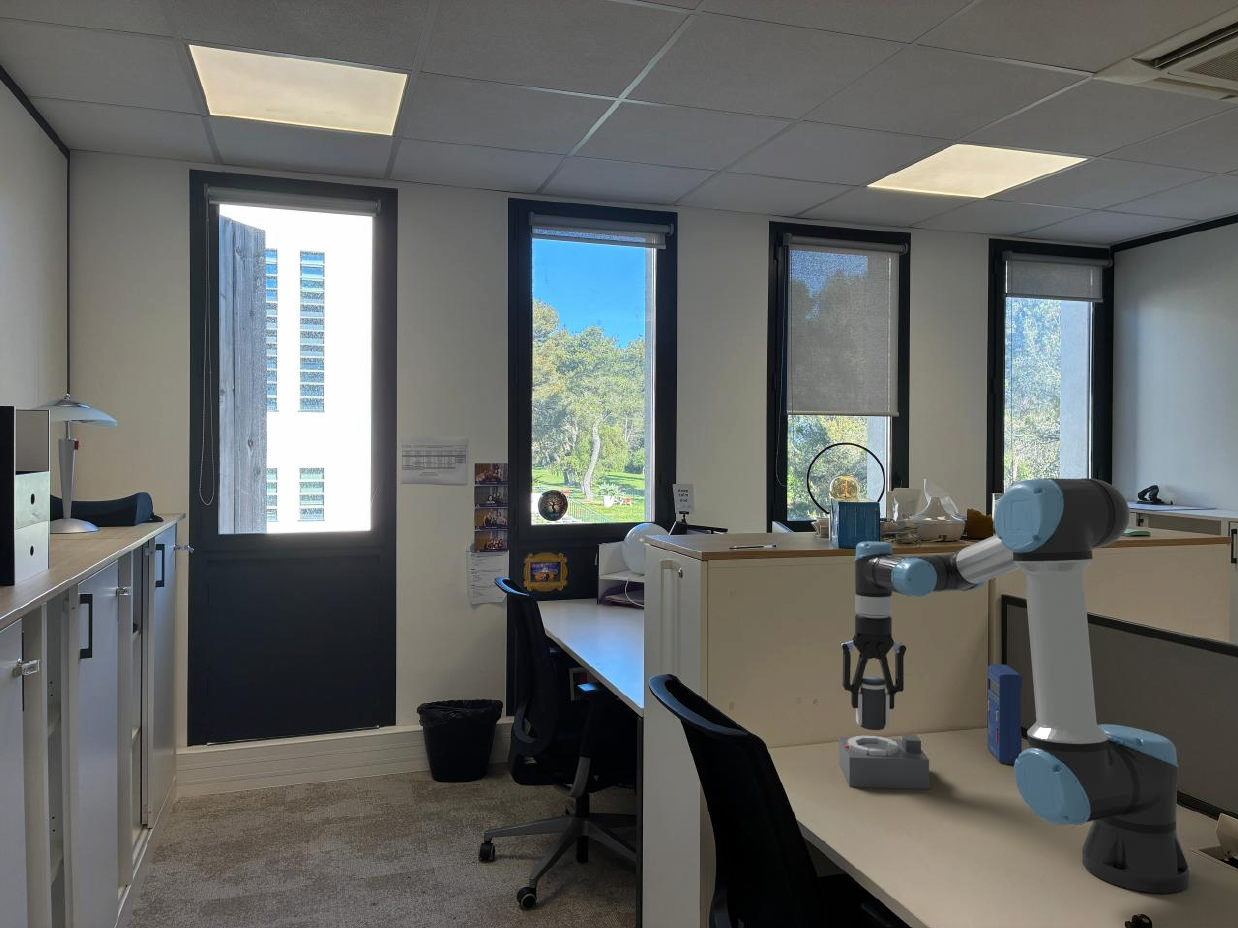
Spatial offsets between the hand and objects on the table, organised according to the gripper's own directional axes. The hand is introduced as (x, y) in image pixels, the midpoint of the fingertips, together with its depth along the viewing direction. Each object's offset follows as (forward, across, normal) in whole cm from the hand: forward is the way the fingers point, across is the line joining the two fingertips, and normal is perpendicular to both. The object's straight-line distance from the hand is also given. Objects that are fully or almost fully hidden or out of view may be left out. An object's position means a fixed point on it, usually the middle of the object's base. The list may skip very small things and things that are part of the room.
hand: (872, 723), depth 188 cm
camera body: (+11, -2, 0) cm, 11 cm away
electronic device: (+11, -32, -14) cm, 37 cm away
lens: (+1, 0, 0) cm, 1 cm away
